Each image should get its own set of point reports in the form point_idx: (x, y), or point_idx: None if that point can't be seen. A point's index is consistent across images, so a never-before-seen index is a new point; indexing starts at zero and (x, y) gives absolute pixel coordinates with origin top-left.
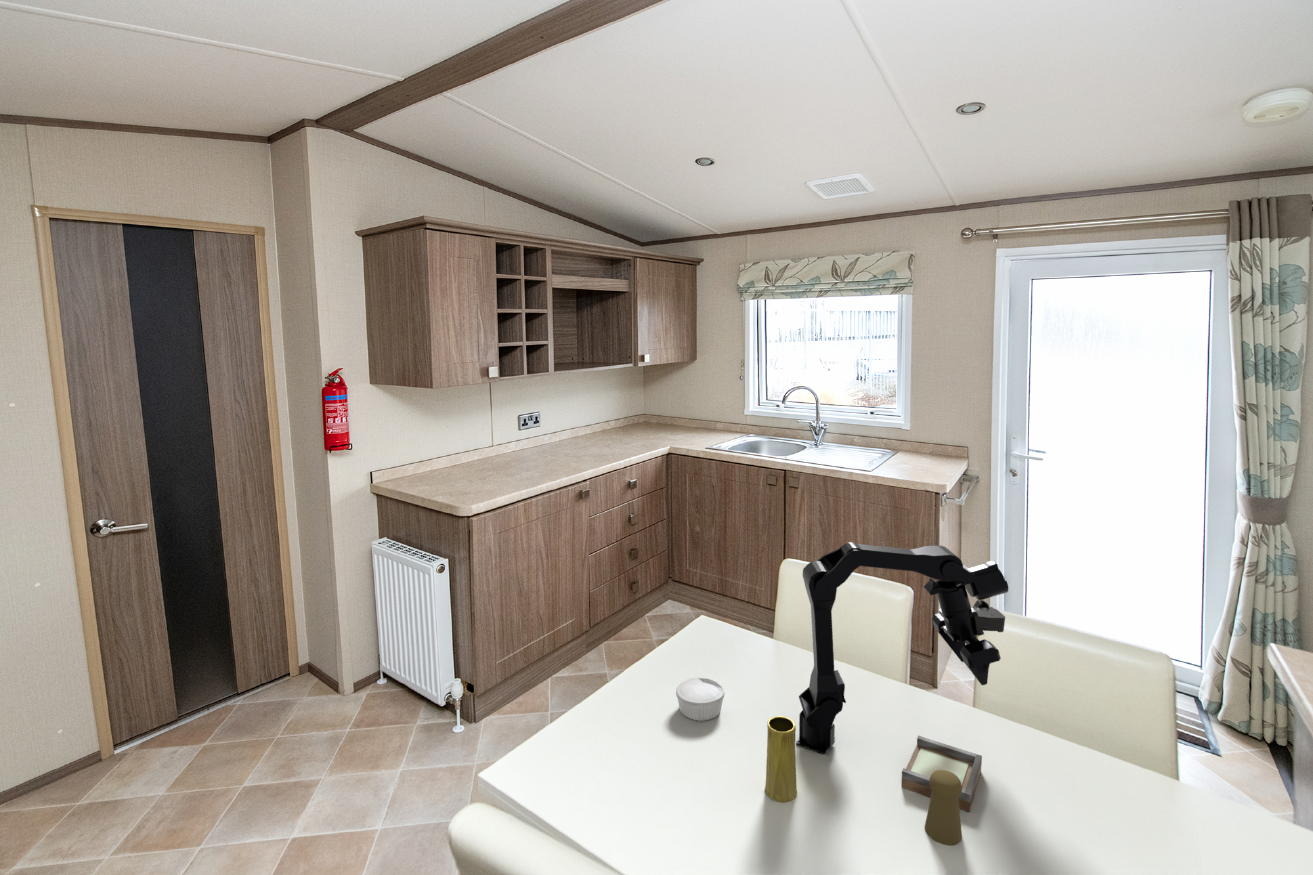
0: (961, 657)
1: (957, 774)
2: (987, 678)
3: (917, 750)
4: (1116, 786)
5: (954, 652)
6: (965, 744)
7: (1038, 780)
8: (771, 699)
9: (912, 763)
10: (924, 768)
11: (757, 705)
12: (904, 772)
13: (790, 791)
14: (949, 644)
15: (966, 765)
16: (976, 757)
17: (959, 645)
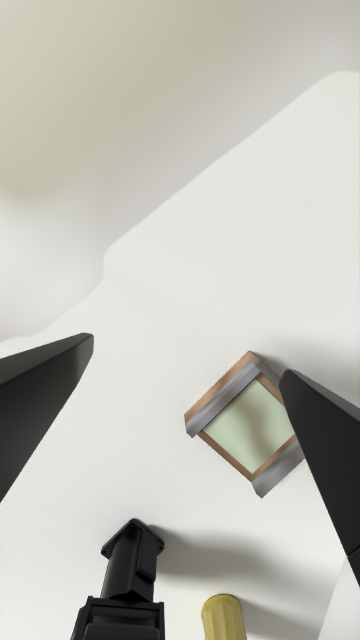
0: (82, 367)
1: (272, 409)
2: (326, 390)
3: (205, 436)
4: (328, 168)
5: (55, 416)
6: (185, 333)
7: (285, 279)
8: (10, 575)
9: (231, 457)
10: (248, 448)
11: (25, 598)
12: (263, 494)
13: (242, 623)
14: (3, 490)
15: (257, 384)
16: (262, 370)
17: (23, 415)
